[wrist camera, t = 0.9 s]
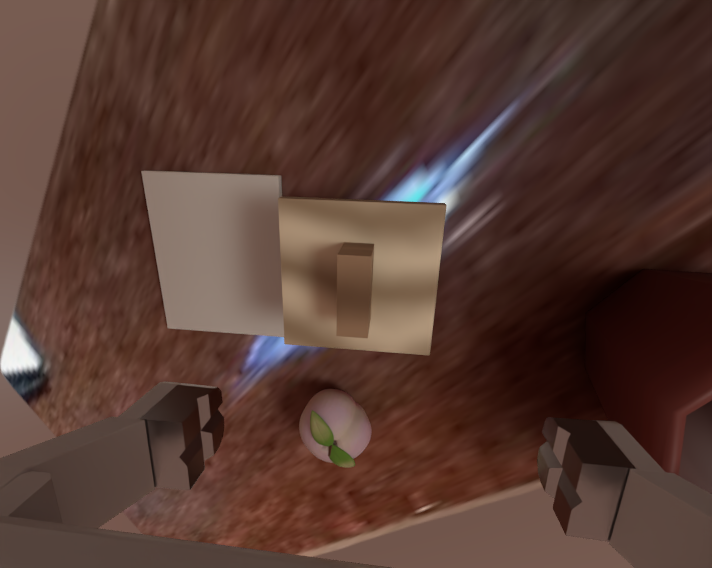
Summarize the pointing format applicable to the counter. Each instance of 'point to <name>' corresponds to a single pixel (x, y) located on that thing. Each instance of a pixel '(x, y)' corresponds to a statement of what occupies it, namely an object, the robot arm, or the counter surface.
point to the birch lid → (360, 272)
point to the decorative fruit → (335, 427)
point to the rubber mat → (217, 250)
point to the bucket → (658, 367)
